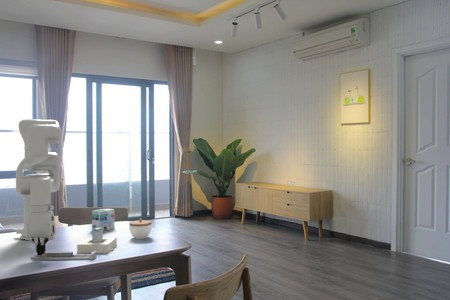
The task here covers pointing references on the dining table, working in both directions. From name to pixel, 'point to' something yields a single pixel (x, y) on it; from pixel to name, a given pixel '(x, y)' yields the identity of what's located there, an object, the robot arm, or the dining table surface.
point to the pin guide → (75, 257)
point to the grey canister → (97, 235)
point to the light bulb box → (103, 219)
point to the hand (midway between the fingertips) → (40, 254)
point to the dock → (96, 246)
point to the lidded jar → (140, 228)
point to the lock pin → (58, 254)
